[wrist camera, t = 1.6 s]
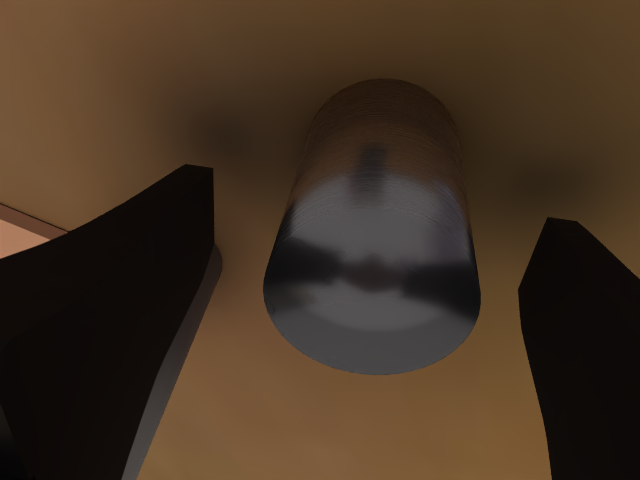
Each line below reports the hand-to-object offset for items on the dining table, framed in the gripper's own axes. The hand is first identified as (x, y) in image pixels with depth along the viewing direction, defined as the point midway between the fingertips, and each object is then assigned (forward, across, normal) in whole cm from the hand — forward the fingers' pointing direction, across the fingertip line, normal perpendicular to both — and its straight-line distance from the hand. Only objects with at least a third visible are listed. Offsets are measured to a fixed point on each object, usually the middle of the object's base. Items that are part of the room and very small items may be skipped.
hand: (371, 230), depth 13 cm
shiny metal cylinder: (+4, 0, 0) cm, 4 cm away
